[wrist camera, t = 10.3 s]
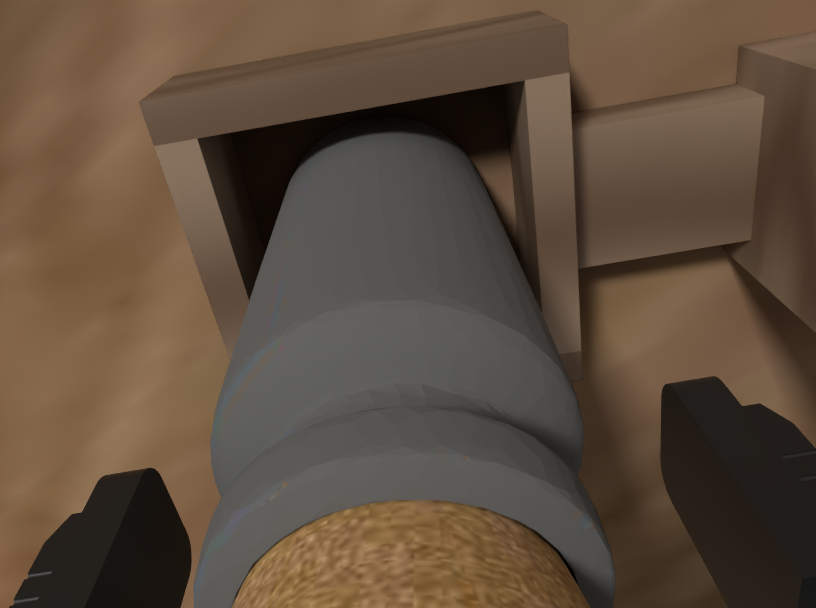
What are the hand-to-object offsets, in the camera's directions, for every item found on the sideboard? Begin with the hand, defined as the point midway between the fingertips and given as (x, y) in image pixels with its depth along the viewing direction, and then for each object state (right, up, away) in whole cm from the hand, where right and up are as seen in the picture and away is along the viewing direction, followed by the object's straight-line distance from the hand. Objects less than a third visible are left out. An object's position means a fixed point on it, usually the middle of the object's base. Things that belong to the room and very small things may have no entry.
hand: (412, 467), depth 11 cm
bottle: (-1, +5, +9) cm, 11 cm away
